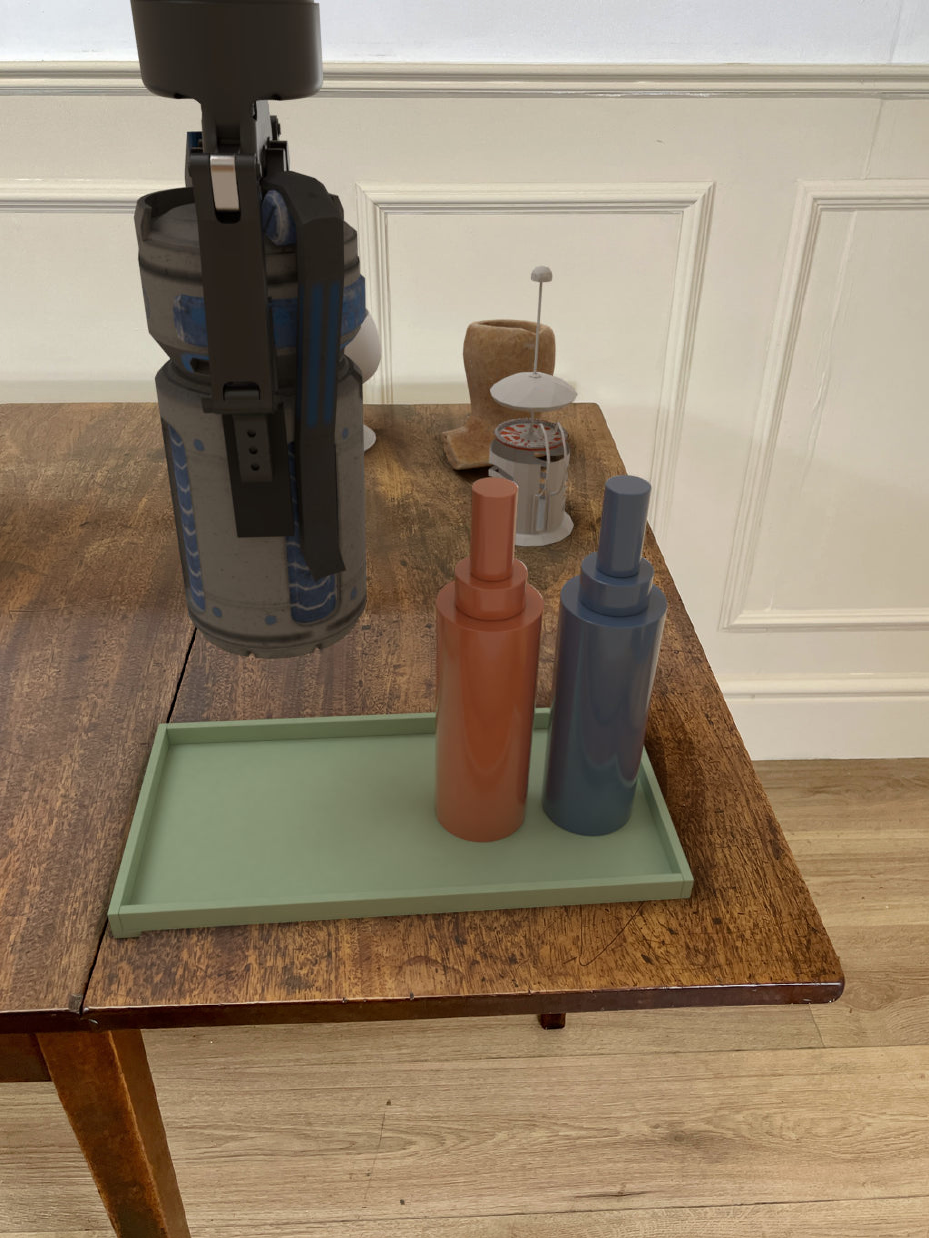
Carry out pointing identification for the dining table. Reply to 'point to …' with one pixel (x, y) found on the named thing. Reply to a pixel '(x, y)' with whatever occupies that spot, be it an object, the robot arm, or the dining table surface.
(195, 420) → the beverage bottle
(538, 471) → the french press
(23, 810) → the dining table surface
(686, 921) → the dining table surface
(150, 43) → the robot arm
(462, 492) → the dining table surface
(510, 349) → the brown suede boot
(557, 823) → the slate-blue bottle
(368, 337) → the chalice
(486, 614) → the terracotta bottle
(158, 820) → the tray
